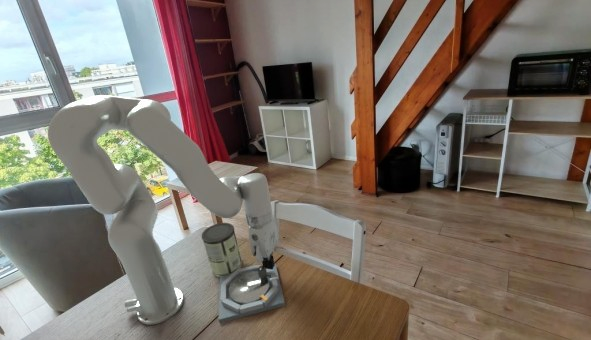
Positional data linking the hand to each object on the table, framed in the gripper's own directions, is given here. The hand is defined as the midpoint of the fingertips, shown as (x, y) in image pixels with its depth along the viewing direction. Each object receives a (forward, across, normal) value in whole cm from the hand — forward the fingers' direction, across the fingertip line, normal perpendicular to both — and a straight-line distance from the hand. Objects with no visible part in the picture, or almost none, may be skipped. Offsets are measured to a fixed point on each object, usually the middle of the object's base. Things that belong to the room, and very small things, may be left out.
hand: (269, 267), depth 91 cm
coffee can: (+4, +2, +17) cm, 18 cm away
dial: (+3, -7, +4) cm, 8 cm away
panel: (+4, -7, +4) cm, 9 cm away
